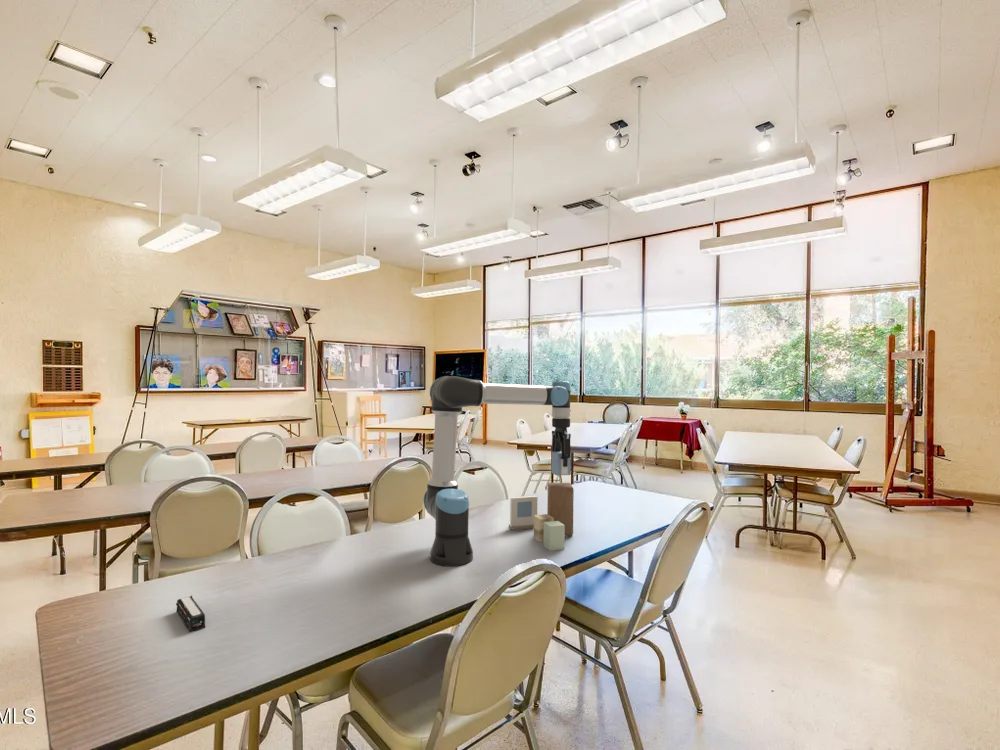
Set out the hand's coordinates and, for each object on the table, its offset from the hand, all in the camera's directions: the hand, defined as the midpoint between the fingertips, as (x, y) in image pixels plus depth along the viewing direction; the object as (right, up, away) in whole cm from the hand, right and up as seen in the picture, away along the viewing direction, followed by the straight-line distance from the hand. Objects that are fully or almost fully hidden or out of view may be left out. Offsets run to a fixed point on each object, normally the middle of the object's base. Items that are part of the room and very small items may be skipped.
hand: (560, 472), depth 209 cm
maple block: (-8, -25, -9) cm, 28 cm away
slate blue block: (0, 0, 0) cm, 1 cm away
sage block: (-5, -25, -19) cm, 31 cm away
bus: (-106, -24, -81) cm, 135 cm away
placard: (-15, -25, +6) cm, 30 cm away
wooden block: (0, -25, 0) cm, 25 cm away
